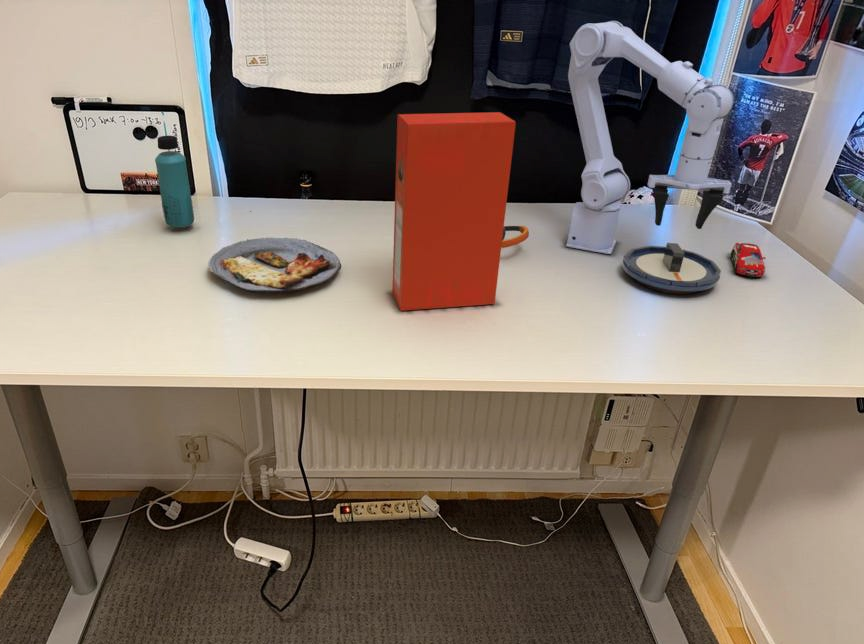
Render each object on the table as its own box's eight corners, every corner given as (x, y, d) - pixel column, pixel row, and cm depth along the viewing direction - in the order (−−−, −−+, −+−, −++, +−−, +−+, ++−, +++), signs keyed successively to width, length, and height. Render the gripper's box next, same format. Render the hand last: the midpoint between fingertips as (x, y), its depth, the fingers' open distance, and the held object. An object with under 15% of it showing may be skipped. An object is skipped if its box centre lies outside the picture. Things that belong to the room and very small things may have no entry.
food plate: (363, 274, 133) (364, 257, 131) (270, 313, 118) (268, 295, 117) (281, 239, 147) (280, 223, 145) (188, 270, 133) (186, 253, 131)
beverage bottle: (202, 227, 152) (190, 135, 141) (179, 236, 147) (166, 142, 137) (181, 221, 155) (168, 131, 144) (158, 229, 150) (143, 137, 140)
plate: (613, 250, 141) (618, 228, 139) (702, 255, 140) (709, 233, 138) (633, 288, 126) (638, 264, 124) (732, 294, 125) (740, 270, 123)
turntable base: (629, 285, 131) (630, 278, 131) (637, 261, 141) (638, 254, 141) (701, 299, 127) (703, 292, 126) (704, 273, 137) (706, 266, 136)
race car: (763, 282, 134) (770, 263, 132) (734, 277, 136) (740, 259, 134) (756, 256, 145) (762, 239, 143) (729, 252, 146) (734, 235, 144)
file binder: (391, 291, 127) (397, 113, 110) (480, 285, 130) (499, 111, 113) (401, 312, 120) (408, 125, 103) (494, 305, 123) (516, 122, 106)
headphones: (456, 213, 155) (540, 211, 144) (459, 236, 158) (542, 235, 147) (420, 236, 143) (508, 236, 132) (424, 260, 146) (511, 262, 135)
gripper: (659, 158, 124) (642, 229, 131) (743, 164, 122) (721, 236, 129) (653, 148, 130) (637, 217, 137) (733, 154, 128) (712, 223, 135)
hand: (677, 225), depth 133 cm, fingers open, 7 cm apart
